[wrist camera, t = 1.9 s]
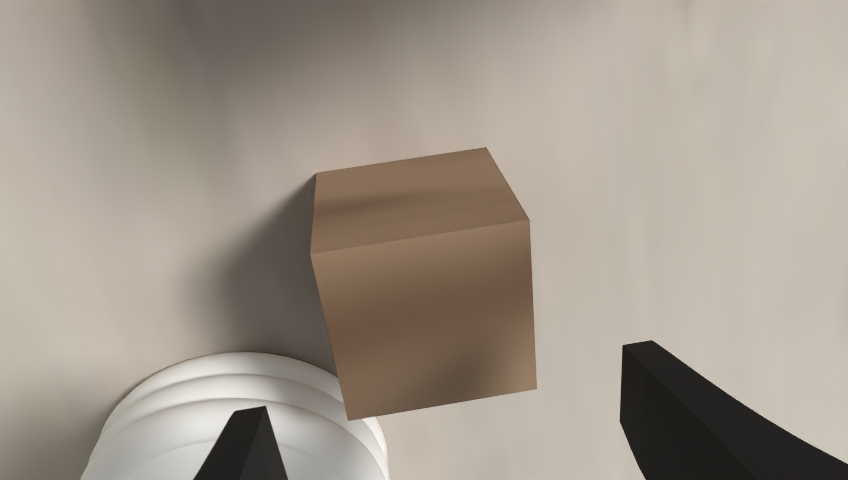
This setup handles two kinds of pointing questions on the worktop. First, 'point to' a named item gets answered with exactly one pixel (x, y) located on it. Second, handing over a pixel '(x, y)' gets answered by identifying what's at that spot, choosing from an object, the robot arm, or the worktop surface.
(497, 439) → the worktop surface
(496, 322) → the walnut block
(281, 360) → the white round dish
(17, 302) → the worktop surface
